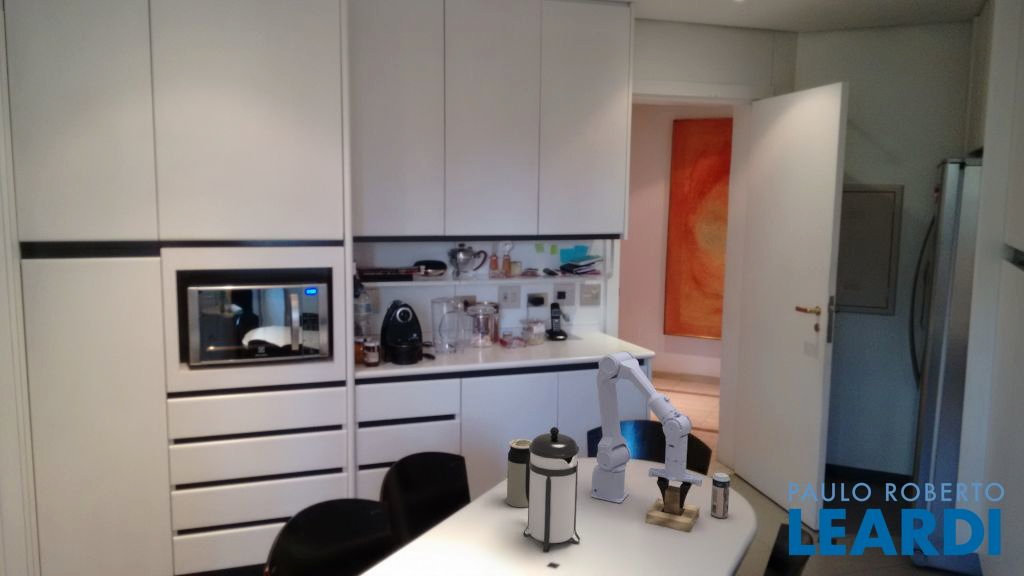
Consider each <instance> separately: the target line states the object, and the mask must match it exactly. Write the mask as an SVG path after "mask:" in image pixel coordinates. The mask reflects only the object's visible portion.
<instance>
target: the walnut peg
mask: <svg viewBox="0 0 1024 576" xmlns="http://www.w3.org/2000/svg"><path fill="white" fill-rule="evenodd" d="M664 513H668V514H673V515H677V516H680V514H681V513H682V509H681V508H680V486H675V485H671V484H669V486H668V487H667V489H666V490H665V506H664Z"/></svg>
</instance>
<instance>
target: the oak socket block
mask: <svg viewBox="0 0 1024 576" xmlns="http://www.w3.org/2000/svg"><path fill="white" fill-rule="evenodd" d="M664 506H665V505H664V504H663V498H657V499H655V502H654V503H653V504H652V505H651V507H650V508H649V510H648V511H647V512H646V513H645V514H646V515H645V523H648V524H652V525H656V526H661V527H665V528H670V529H674V530H678V531H683V532H686V533H690V532H691V530H692V528H693V527H694V525H695V523H696V522H697V520H698V518H699V517H700V507H701V506H697V505H692V504H687V503H684V507H683V508H682V513H681V514H680V516H677V515H673V514H668V513H664Z"/></svg>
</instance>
